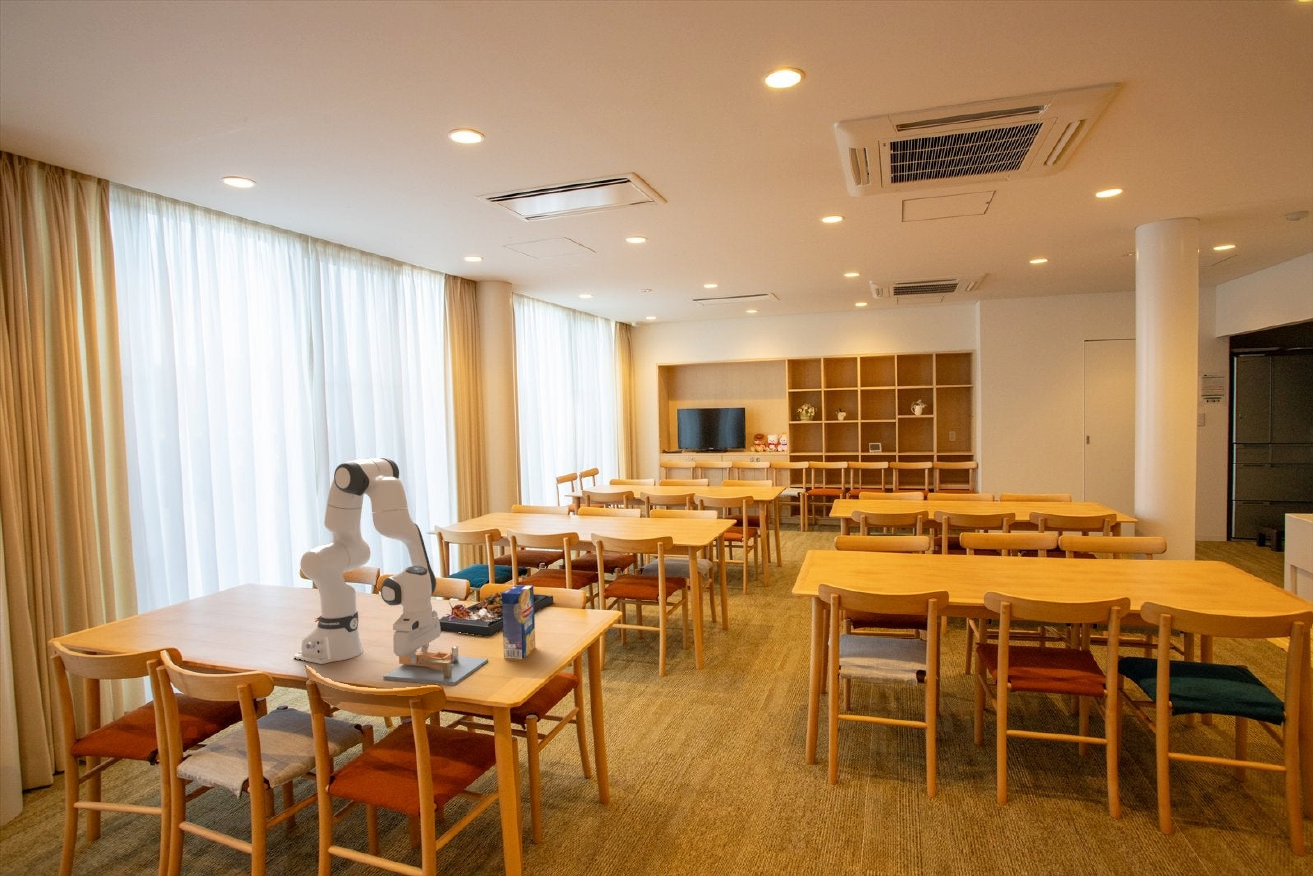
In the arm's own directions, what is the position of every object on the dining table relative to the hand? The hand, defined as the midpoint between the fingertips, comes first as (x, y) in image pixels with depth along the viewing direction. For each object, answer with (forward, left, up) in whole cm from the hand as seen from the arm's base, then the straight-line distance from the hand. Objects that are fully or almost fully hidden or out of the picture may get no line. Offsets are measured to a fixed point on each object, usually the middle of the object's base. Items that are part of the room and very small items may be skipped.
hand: (419, 660), depth 220 cm
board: (+7, 0, -3) cm, 7 cm away
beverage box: (+26, +19, -3) cm, 32 cm away
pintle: (+10, +5, -2) cm, 11 cm away
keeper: (+10, -7, -2) cm, 12 cm away
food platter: (-3, +57, -4) cm, 57 cm away
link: (0, 0, -1) cm, 1 cm away
